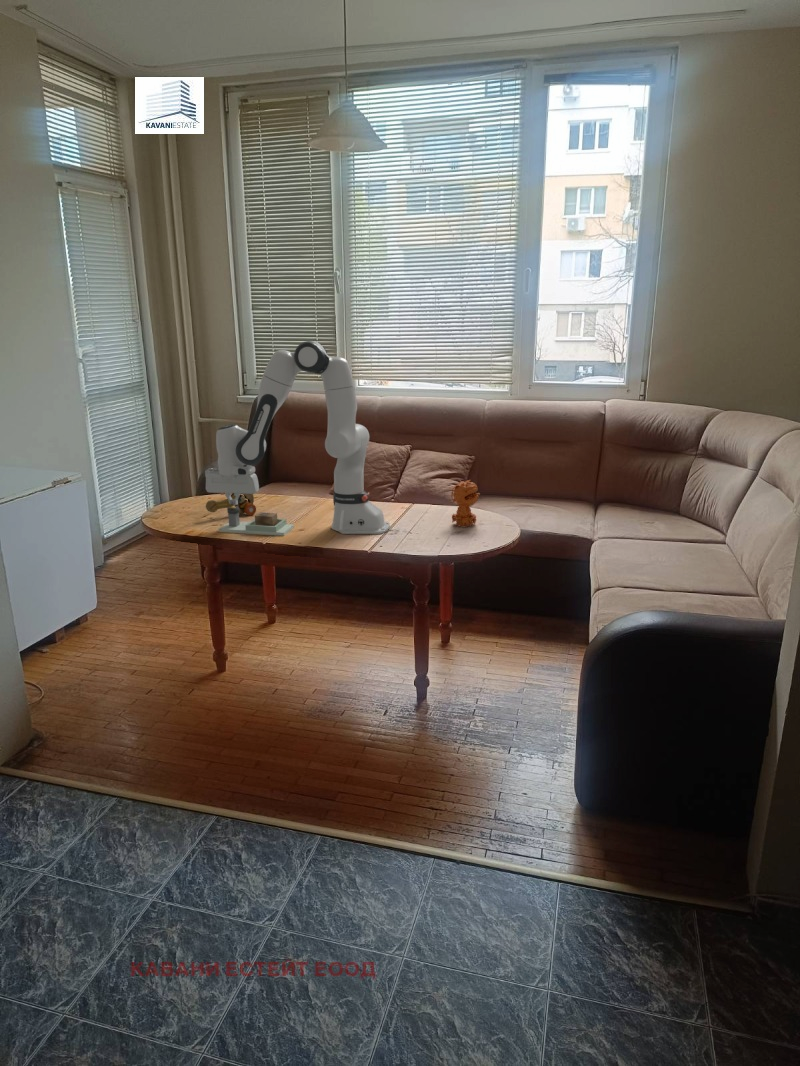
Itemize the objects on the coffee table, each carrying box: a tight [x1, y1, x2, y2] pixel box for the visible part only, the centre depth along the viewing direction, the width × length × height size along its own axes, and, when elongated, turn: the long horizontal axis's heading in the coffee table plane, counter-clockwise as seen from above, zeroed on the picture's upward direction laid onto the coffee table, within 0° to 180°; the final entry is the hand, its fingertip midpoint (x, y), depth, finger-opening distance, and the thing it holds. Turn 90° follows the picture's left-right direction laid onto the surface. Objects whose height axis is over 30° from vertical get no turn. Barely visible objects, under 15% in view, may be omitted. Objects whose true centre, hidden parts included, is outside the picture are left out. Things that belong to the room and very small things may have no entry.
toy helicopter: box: [205, 493, 257, 517], centre depth 288 cm, size 8×21×14 cm, turn 131°
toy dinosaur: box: [450, 479, 481, 527], centre depth 275 cm, size 11×11×18 cm
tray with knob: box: [218, 512, 295, 537], centre depth 271 cm, size 26×11×6 cm, turn 79°
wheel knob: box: [226, 506, 239, 514], centre depth 272 cm, size 4×4×5 cm
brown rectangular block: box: [254, 512, 278, 526], centre depth 270 cm, size 7×5×5 cm
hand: (233, 504), depth 271 cm, fingers closed
